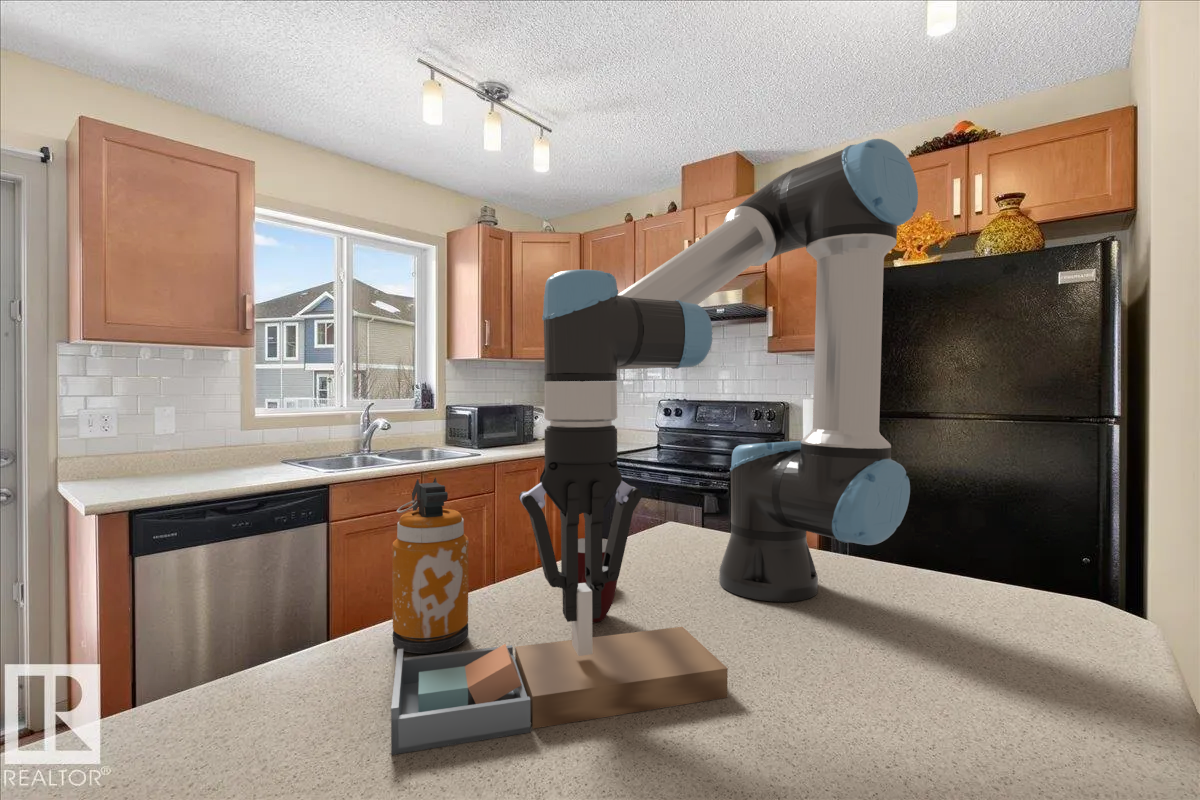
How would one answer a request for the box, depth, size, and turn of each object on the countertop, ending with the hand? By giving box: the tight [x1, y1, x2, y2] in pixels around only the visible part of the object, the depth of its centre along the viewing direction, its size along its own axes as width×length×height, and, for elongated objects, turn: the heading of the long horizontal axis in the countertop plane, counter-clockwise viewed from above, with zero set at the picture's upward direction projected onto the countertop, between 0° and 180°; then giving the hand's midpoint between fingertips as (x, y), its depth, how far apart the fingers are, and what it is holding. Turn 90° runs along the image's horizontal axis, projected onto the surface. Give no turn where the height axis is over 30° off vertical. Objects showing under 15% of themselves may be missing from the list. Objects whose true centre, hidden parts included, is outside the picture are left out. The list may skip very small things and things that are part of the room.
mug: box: [578, 537, 619, 624], centre depth 80 cm, size 11×8×10 cm
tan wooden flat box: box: [514, 626, 729, 730], centre depth 63 cm, size 20×11×3 cm, turn 106°
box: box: [390, 644, 531, 756], centre depth 58 cm, size 12×12×4 cm
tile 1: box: [418, 666, 468, 713], centre depth 58 cm, size 4×4×2 cm
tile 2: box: [465, 643, 522, 704], centre depth 59 cm, size 4×4×2 cm
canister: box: [392, 477, 469, 655], centre depth 74 cm, size 9×11×20 cm
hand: (582, 649), depth 62 cm, fingers closed
